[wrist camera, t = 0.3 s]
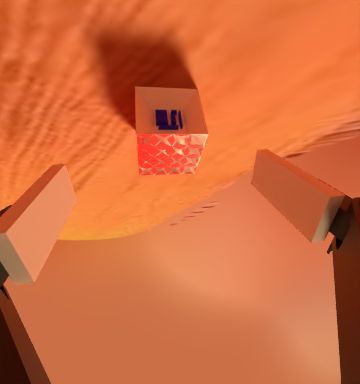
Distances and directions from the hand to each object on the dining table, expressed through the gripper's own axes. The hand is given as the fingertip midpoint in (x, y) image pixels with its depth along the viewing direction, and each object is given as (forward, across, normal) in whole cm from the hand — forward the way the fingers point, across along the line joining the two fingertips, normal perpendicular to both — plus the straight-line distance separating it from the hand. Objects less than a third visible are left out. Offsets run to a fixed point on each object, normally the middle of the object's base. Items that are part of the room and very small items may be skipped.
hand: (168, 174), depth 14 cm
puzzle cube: (+18, +2, +2) cm, 18 cm away
